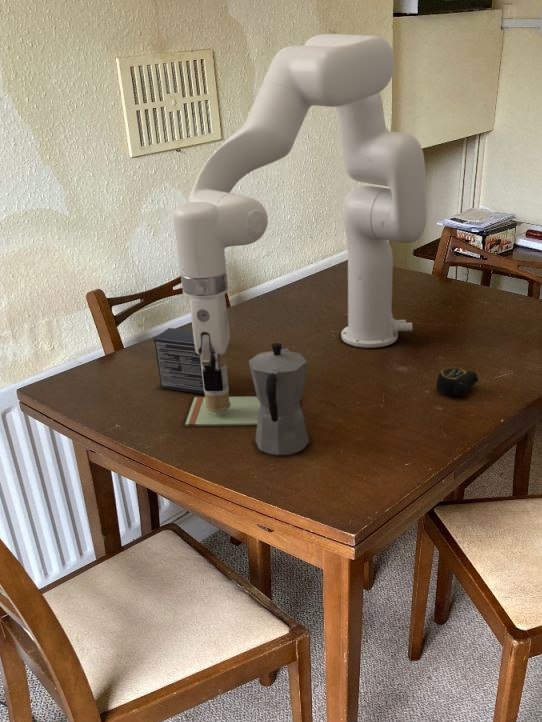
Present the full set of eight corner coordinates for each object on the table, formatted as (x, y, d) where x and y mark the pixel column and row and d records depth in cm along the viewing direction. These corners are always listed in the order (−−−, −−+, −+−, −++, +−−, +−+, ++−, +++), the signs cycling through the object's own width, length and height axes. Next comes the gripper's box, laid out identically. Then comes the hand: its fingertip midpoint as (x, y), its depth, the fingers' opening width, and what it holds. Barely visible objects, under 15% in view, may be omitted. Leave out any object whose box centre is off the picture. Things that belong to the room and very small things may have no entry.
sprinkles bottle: (222, 399, 143) (214, 330, 135) (235, 408, 140) (228, 337, 132) (200, 407, 140) (192, 336, 133) (214, 415, 137) (205, 344, 130)
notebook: (299, 397, 147) (299, 395, 146) (296, 424, 137) (296, 422, 137) (194, 398, 147) (194, 396, 146) (185, 426, 138) (185, 423, 137)
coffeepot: (260, 424, 138) (253, 327, 128) (313, 425, 137) (310, 328, 127) (246, 468, 125) (237, 365, 115) (304, 470, 124) (300, 366, 114)
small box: (223, 382, 153) (218, 331, 147) (208, 396, 148) (202, 344, 142) (176, 375, 156) (169, 325, 150) (159, 388, 151) (151, 337, 145)
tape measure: (462, 402, 144) (463, 383, 142) (429, 393, 147) (430, 375, 145) (477, 388, 149) (479, 370, 147) (445, 380, 152) (447, 363, 150)
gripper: (221, 299, 120) (231, 405, 130) (232, 267, 134) (241, 364, 144) (173, 300, 120) (187, 405, 131) (190, 267, 134) (201, 365, 144)
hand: (215, 383), depth 137 cm, fingers closed on sprinkles bottle, 4 cm apart
